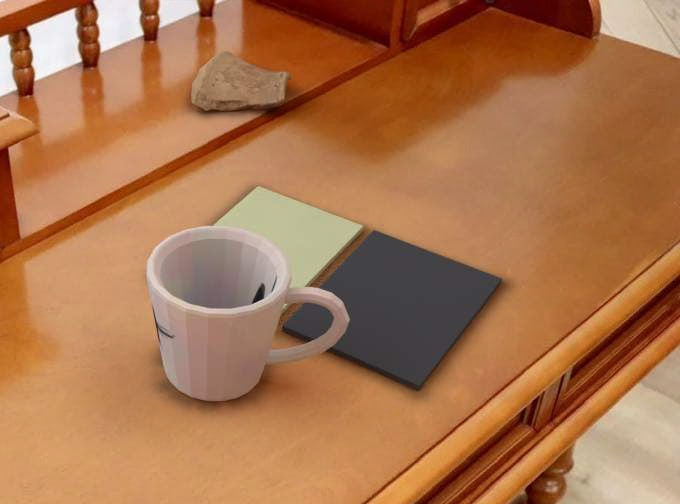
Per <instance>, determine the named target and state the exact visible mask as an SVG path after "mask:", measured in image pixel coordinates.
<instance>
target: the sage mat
mask: <svg viewBox="0 0 680 504" xmlns="http://www.w3.org/2000/svg"><path fill="white" fill-rule="evenodd" d="M212 226H230V227H235V228H240V229H245V230H249V231H252V232H254V233H256V234H259V235H261V236H263V237H266V238H268V239H269V240H270V241H272V242H273V243H274V244H275V245H277V246H278V247H279V248H281V249H282V251H283V253H284V254H285V256H286V257H287V259H288V260H289V262H290V267H291V276H292V280H291V283H290V287H289V288H293V287H311V285H312V284H313V283H314V282H315V281H316V280H317V279H318V278H319V277H320V276H321V275H322V273H324V271H325V270H327V268H328V267H330V265H331V264H333V262H334V261H335V260H336V259H337V258H338V257H339V256H340V255H341V254H342V253H343V252H344V251H345V250H346V249H347V248H348V247H349V246H350V245H351V244H352V243H353V242H354V241H355V240H356V238H357V237H359V236H360V234H361V233H362V232H363V231H364V225H363V224H359V223H357V222H354V221H352V220H349V219H348V218H347V219H346V218H344V217H341V216H338V215H335V214H333V213H331V212H328V211H325V210H323V209H320V208H318V207H315V206H312V205H309V204H307V203H305V202H301V201H299V200H296V199H293V198H291V197H288V196H286V195H283V194H281V193H278V192H275V191H273V190H270V189H268V188H266V187H265V188H264V187H262V186H260V185H258V186H256V187H255V188H254V189H253V190H252V191H251V192H249V193H248V194H247V195H246V196H245V197H244V198H243V199H241V200H240V201H239V202H238V203H237V204H235V205H234V206H233V207H232V208H231V209H230V210H229V211H228V212H227V213H225V214H224V215H223V216H222V217H221V218H219V220H217V221H216V222H215V223H214V224H213V225H212ZM292 304H293V303H291V304H284V306H283V309H282V312H281V315H280V317H281V316H282V315H283V314H284V313H285V312H286V311H287V310H288V309H289V308H290V307H291V306H292Z"/></svg>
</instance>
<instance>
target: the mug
mask: <svg viewBox="0 0 680 504" xmlns="http://www.w3.org/2000/svg"><path fill="white" fill-rule="evenodd" d="M291 280H292V276H291V267H290V262H289V260H288V259H287V257H286V256H285V254H284V253H283V251H282V249H281V248H279V247H278V246H277V245H275V244H274V243H273V242H272V241H270V240H269V239H268V238H266V237H263V236H261V235H259V234H256V233H254V232H252V231H249V230H245V229H240V228H235V227H230V226H213V225H203V226H197V227H192V228H191V227H190V228H187V229H184V230H181V231H179V232H176V233H174V234H172V235H169V236H167V237H166V238H165V239H163V240H162V241H161V242H160V243H158V245H156V246H155V247H154V248H153V250H152V252H151V254H150V256H149V257H148V259H147V261H146V282H147V288H148V291H149V292H148V294H149V298H150V303H151V308H152V314H153V319H154V323H155V328H156V334H157V339H158V344H159V349H160V350H159V351H160V356H161V359H162V366H163V371H164V373H165V375H166V377H167V379H168V381H169V382H170V383H171V385H173V386H174V388H176V389H177V390H178V391H179V392H181V393H183V394H185V395H186V396H188V397H190V398H192V399H197V400H202V401H205V402H225V401H230V400H235V399H238V398H240V397H242V396H244V395H246V394H248V393H250V392H251V391H252V390H253V388H254V387H255V386H257V384H259V382H260V380H261V377H262V375H263V373H264V370H265V367H266V365H284V364H293V363H296V362H300V361H304V360H307V359H310V358H313V357H315V356H317V355H320V354H322V353H324V352H327V349H329V348H330V347H332V346H333V345H335V343H336V342H337V341H338V340H339V339H340V338H341V336H342V335H343V334H344V333H345V331H346V329H347V326H348V323H349V321H350V318H349V316H348V313H347V311H346V309H345V306H344V304H343V302H342V300H340V299H339V298H338V297H336V296H335V295H334V294H333V293H331V292H328V291H325V290H322V289H319V287H314V286H309V287H293V288H289V287H290V283H291ZM304 302H310V303H315V304H318V305H321V306H324V307H326V308H327V309H329V310H330V311H331V312H332V314H333V316H334V320H333V323H332V326H331V328H330V329H329V330H328V331H327V332H326V333H325V334H323V335H322V336H320V337H319V338H317V339H315V340H313V341H311V342H306V343H303V344H299V345H296V346H292V347H286V348H278V349H277V348H276V349H274V348H273V349H272V348H271V347H272V344H273V341H274V338H275V334H276V332H277V328H278V324H279V322H280V319H281V316H282V315H281V312H282V309H283V306H284V304H291V303H292V304H297V303H298V304H299V303H304ZM292 304H291V305H292ZM280 315H281V316H280Z"/></svg>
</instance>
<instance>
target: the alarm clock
mask: <svg viewBox="0 0 680 504" xmlns="http://www.w3.org/2000/svg"><path fill="white" fill-rule="evenodd" d="M485 2H486V3H487V4H492V3H494V0H485Z"/></svg>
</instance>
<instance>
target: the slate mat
mask: <svg viewBox="0 0 680 504" xmlns="http://www.w3.org/2000/svg"><path fill="white" fill-rule="evenodd" d="M502 282H503V278H502V277H499V276H497V275H495V274H491V273H489V272H485V271H484V270H482V269H481V270H480V269H478V268H475V267H474V266H470V265H467V264H465V263H462V262H459V261H457V260H454V259H452V258H449V257H447V256H443V255H442V254H440V253H439V254H438V253H436V252H433V251H430V250H428V249H426V248H422V247H420V246H418V245H415V244H412V243H409V242H407V241H404V240H402V239H399V238H397V237H394V236H391V235H388V234H386V233H383V232H380V231H379V230H376V229H373V230H372V231H371V232H370V233H369V234H368V236H367V237H365V239H364V240H363V241H361V242H360V244H359V245H358V246H356V248H355V249H354V250H353V251H352V252H351V253H350V254H349V255H348V256H347V258H345V260H343V262H341V264H340V265H339V266H337V268H336V269H335V270H334V271H333V272H332V273H331V274H330V275H329V276H328V277H327V278H326V279H325V280H324V281H323V282H322V284H320V285H319V287H318V288H319V289H322V290H325V291H328V292H331V293H333V294H334V295H335V296H336V297H338V298H339V299H340V300H342V302H343V304H344V306H345V309H346V311H347V313H348V316H349V318H350V321H349V323H348V326H347V329H346V331H345V333H344V334H343V335H342V336H341V338H340V339H339V340H338V341H337V342H336V343H335V345H333V346H332V347H330V348H329V349H327V350H326V352H328V353H331V354H334V355H336V356H337V357H341V358H343V359H345V360H347V361H349V362H352V363H354V364H356V365H358V366H361V367H363V368H365V369H367V370H370V371H372V372H374V373H376V374H378V375H381V376H383V377H385V378H388V379H390V380H392V381H395V382H397V383H399V384H402V385H404V386H406V387H408V388H409V389H413V390H415V391H417V392H419V391H420V390H421V389H422V387H424V385H425V383H426V382H427V381H428V380H429V378H430V377H431V376H432V375H433V373H434V372H435V371H436V369H437V368H438V367H439V365H440V364H441V363H442V361H443V360H444V359H445V358H446V357H447V355H448V354H449V352H450V351H451V350H452V348H453V347H454V346H455V345H456V344H457V342H458V341H459V339H460V338H461V337H462V336H463V334H464V333H465V332H466V330H467V329H468V328H469V326H470V325H471V324H472V322H473V321H474V320H475V318H476V317H477V316H478V314H479V313H480V312H481V311H482V310H483V308H484V307H485V306H486V304H487V303H488V302H489V300H490V299H491V298H492V296H493V295H494V293H495V292H496V291H497V290H498V288H499V287H500V286H501V284H502ZM333 320H334V316H333V314H332V312H331V311H330V310H329V309H327V308H326V307H324V306H321V305H318V304H315V303H310V302H303V303H302V304H301V306H300V307H298V308H297V310H295V312H294V313H292V315H291V316H290V317H289V318H288V319H287V320H286V321H285V322H284V324H282V325H281V331H282V332H283V333H286V334H288V335H291V336H292V337H294V338H296V339H299V340H302V341H304V342H306V343H308V342H311V341H313V340H315V339H317V338H319V337H320V336H322V335H323V334H325V333H326V332H327V331H328V330H329V329H330V328H331V326H332V323H333Z"/></svg>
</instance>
